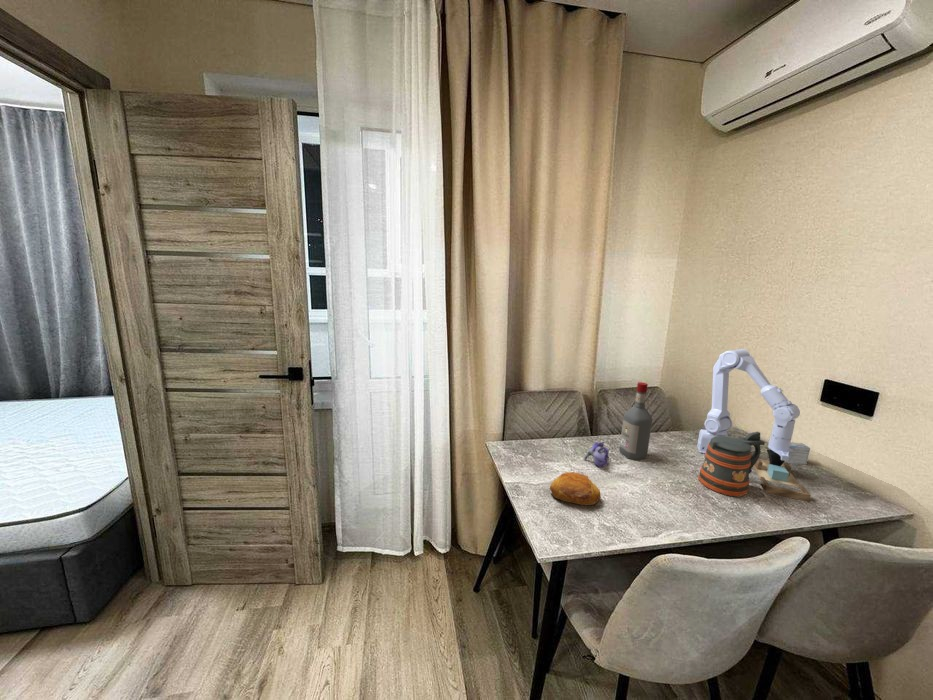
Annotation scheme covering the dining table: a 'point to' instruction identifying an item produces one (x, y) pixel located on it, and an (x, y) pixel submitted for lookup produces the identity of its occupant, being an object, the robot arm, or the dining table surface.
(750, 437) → the beer stein
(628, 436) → the liquor
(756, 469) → the deck
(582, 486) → the bread loaf
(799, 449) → the medicine box
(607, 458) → the flower
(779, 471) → the block
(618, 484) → the dining table surface
